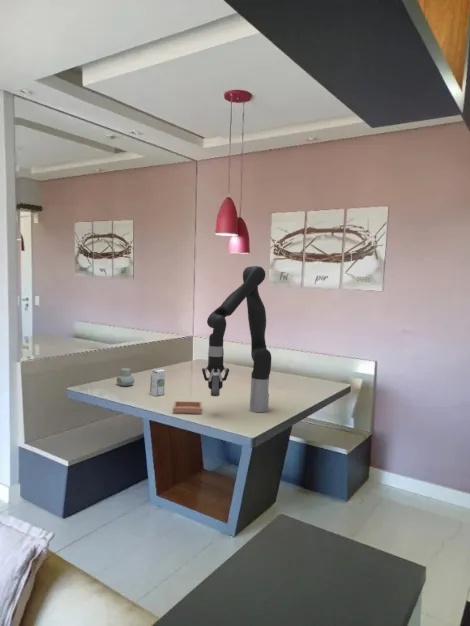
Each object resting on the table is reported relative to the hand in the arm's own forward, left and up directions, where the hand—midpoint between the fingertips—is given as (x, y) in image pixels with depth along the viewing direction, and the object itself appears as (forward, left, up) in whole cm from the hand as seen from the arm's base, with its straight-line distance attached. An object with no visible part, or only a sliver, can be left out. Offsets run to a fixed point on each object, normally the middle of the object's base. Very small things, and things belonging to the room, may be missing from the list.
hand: (215, 388), depth 232 cm
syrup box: (+31, -35, -14) cm, 49 cm away
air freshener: (+52, -55, -14) cm, 77 cm away
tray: (+13, -6, -13) cm, 20 cm away
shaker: (0, 0, -3) cm, 3 cm away
